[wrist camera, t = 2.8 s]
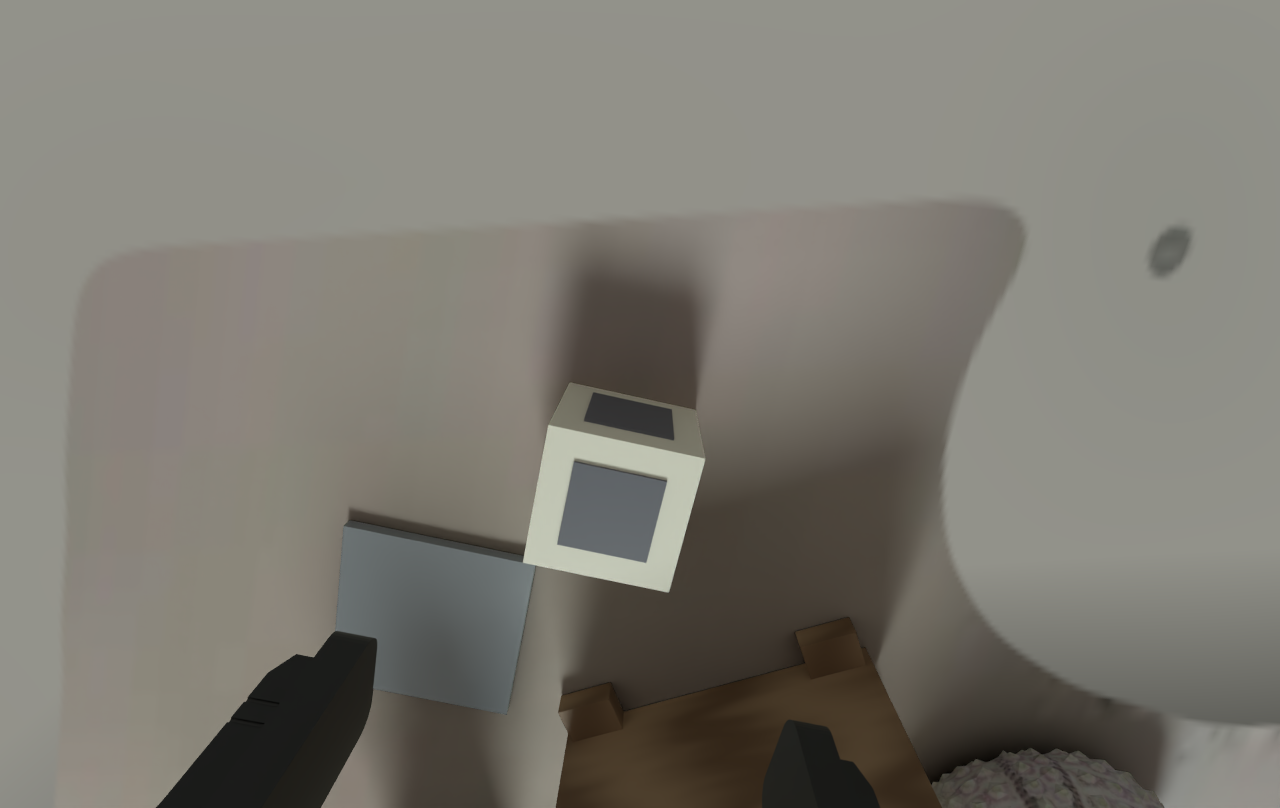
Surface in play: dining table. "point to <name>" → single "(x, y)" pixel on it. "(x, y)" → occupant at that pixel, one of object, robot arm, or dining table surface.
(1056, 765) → the sea urchin shell
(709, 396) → the dining table surface
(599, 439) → the white marker cube
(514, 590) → the slate coaster
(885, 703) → the walnut screen
